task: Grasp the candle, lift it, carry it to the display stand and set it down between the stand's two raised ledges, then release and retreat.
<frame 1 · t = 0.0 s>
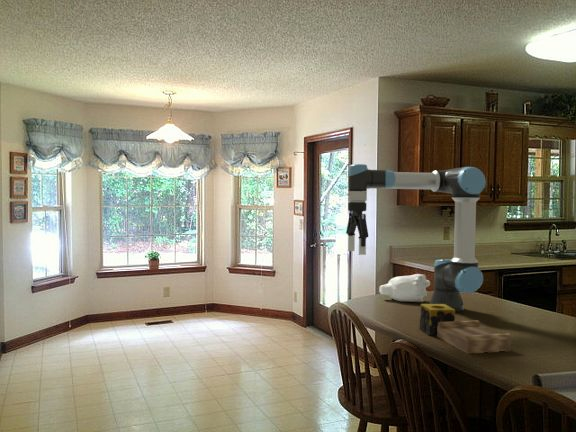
hand: (356, 252, 206), 28 cm above the counter, fingers open, 13 cm apart
mask: (403, 301, 247), on the counter
candle: (436, 333, 189), on the counter
display stand: (472, 343, 174), on the counter
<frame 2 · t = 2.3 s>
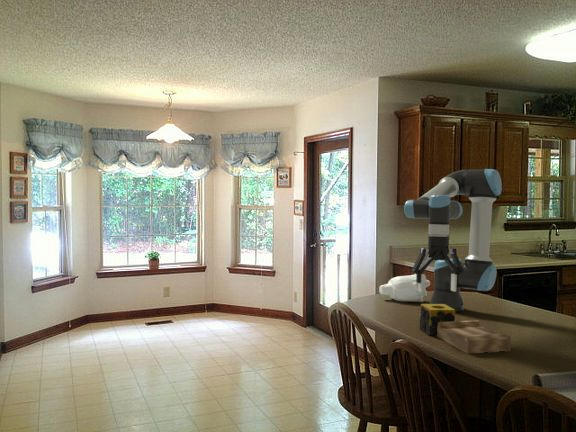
hand: (437, 291, 188), 16 cm above the counter, fingers open, 13 cm apart
nothing on the counter moved.
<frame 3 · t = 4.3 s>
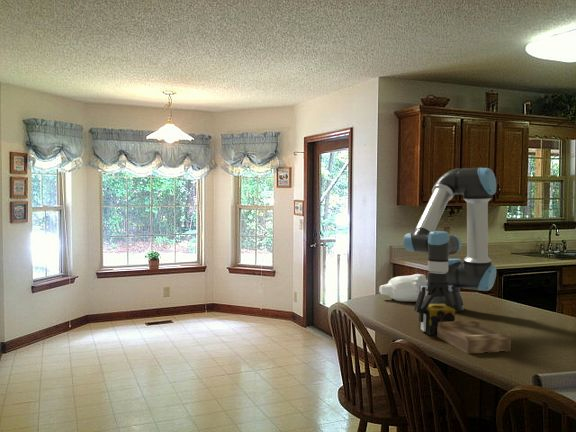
hand: (436, 329, 189), 1 cm above the counter, fingers closed on candle, 10 cm apart
candle: (436, 332, 189), on the counter, touching gripper
everything else where it was.
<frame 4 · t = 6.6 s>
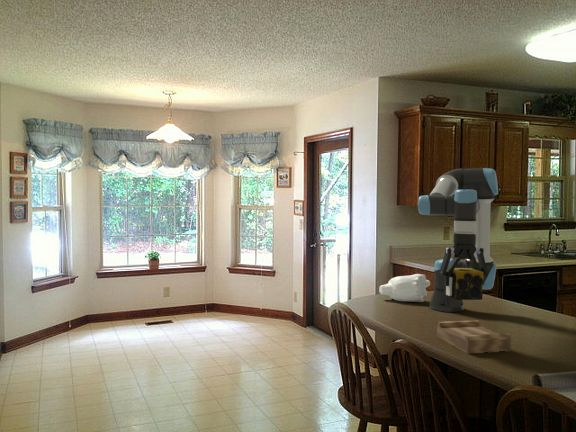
hand: (463, 294, 177), 17 cm above the counter, fingers closed on candle, 10 cm apart
candle: (462, 298, 177), point 16 cm above the counter, touching gripper
everything else where it was.
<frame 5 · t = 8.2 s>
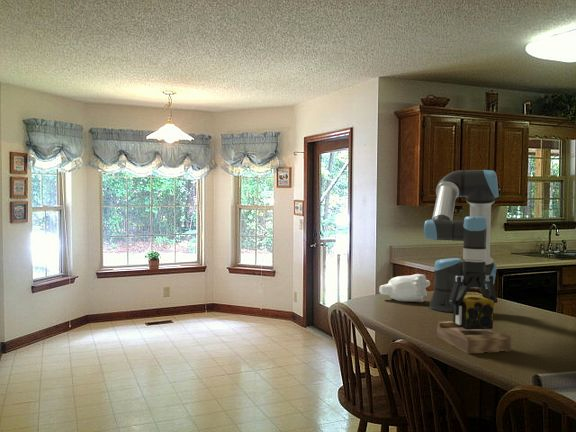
hand: (472, 323, 174), 7 cm above the counter, fingers closed on candle, 10 cm apart
candle: (472, 326, 174), point 6 cm above the counter, touching gripper
everything else where it was.
when the fingers open (7 cm above the counter, at t = 9.2 s): candle drops 2 cm, resting on display stand.
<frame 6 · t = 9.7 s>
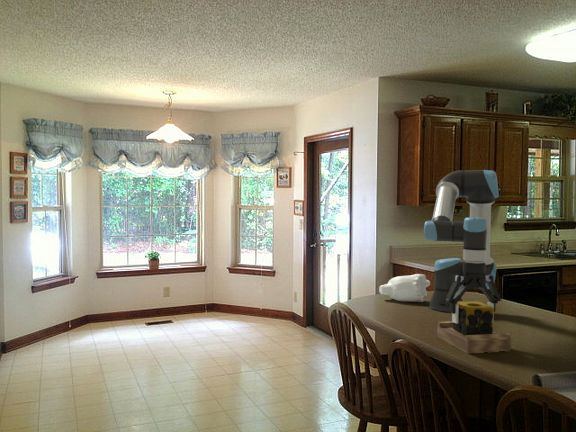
hand: (472, 321, 174), 8 cm above the counter, fingers open, 13 cm apart
candle: (472, 332, 174), point 4 cm above the counter, touching display stand
everything else where it was.
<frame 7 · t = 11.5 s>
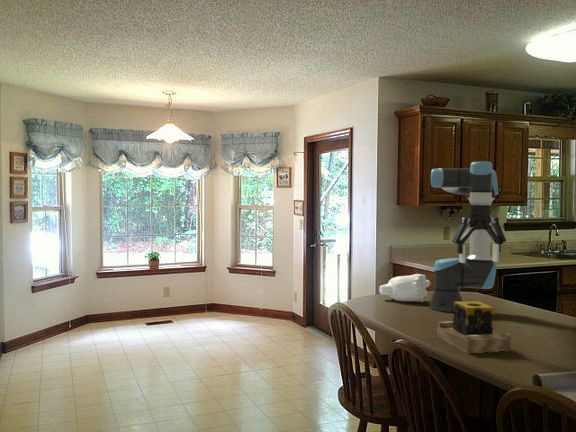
hand: (478, 262, 182), 28 cm above the counter, fingers open, 13 cm apart
nothing on the counter moved.
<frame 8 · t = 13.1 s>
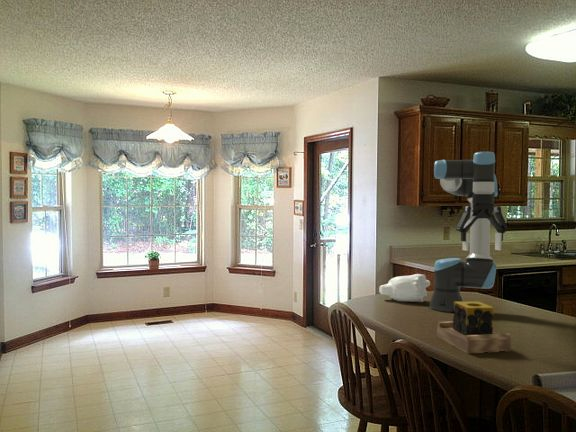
hand: (481, 250, 186), 32 cm above the counter, fingers open, 13 cm apart
nothing on the counter moved.
at the end: candle inside the target area on the display stand (0.1 cm from its centre), point 3.8 cm above the display stand's base; candle tilted 0°; the gripper is holding nothing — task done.
